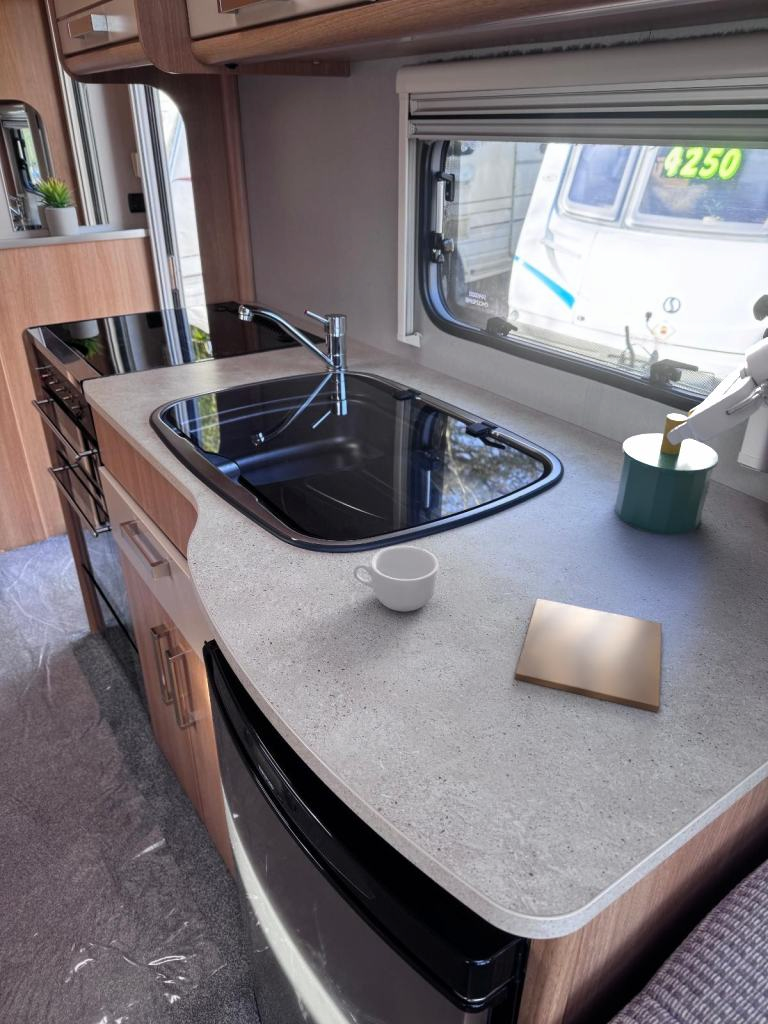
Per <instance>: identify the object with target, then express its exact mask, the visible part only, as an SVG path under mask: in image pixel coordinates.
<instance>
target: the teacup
mask: <svg viewBox="0 0 768 1024" xmlns="http://www.w3.org/2000/svg"><path fill="white" fill-rule="evenodd" d="M439 565H440V564H439V560H438V558H437V557H436V556H435V554H433V553H432V552H431V551H428V550H426V549H424V548H421V547H419V546H411V545H392V546H389V547H385V548H382V549H380V550H378V551H377V552H375V553H374V554H373V555H372V557H371V559H370V564H369V563H365V562H361V563H357V564H356V565H355V567H354V569H353V577H354V578H355V579H356V581H357V582H359V583H361V584H362V585H365V586H367V587H369V588H371V589H372V590H373V592H374V595H375V597H376V598H377V599H378V601H379V602H380V603H381V604H382V605H383V606H384V607H386V608H388V609H390V610H393V611H396V612H403V613H406V612H413V611H417V610H420V609H421V608H422V607H424V606H425V605H427V604H428V603H429V602H430V601H431V599H432V597H433V595H434V592H435V588H436V584H437V577H438V572H439ZM359 569H364V570H365V571H366V572H367V573H368V575H369V577H370V580H368V579H365V578H363V577H361V576H360V575H359V573H358V570H359Z"/></svg>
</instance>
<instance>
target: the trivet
mask: <svg viewBox="0 0 768 1024" xmlns="http://www.w3.org/2000/svg"><path fill="white" fill-rule="evenodd" d="M534 603H535V604H534V607H533V610H532V614H531V617H530V621H529V624H528V628H527V630H526V634H525V637H524V641H523V644H522V648H521V652H520V656H519V659H518V663H517V666H516V669H515V673H514V680H517V681H521V682H526V683H530V684H534V685H539V686H543V687H547V688H551V689H556V690H560V691H565V692H569V693H573V694H576V695H581V696H585V697H589V698H590V697H591V698H594V699H598V700H603V701H608V702H611V703H616V704H619V705H624V706H629V707H633V708H637V709H641V710H647V711H650V712H654V713H659V710H660V706H661V704H660V702H661V669H662V668H661V667H662V665H661V662H662V624H663V623H662V622H658V621H652V620H648V619H644V618H638V617H633V616H628V615H624V614H618V613H613V612H608V611H603V610H599V609H593V608H587V607H582V606H577V605H573V604H567V603H563V602H558V601H553V600H547V599H542V598H538V597H537V598H536V600H535V602H534Z"/></svg>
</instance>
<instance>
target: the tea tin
mask: <svg viewBox="0 0 768 1024" xmlns="http://www.w3.org/2000/svg"><path fill="white" fill-rule="evenodd" d="M623 455H624V454H623ZM713 470H714V469H712V470H710V471H708V472H704V473H699V474H672V473H665V472H660V471H655V470H652V469H648V468H645V467H643V466H640V465H638V464H636V463H634V462H632V461H631V460H629V459H628V458H627V457H626V456H625V455H624V456H623V461H622V467H621V473H620V478H619V484H618V488H617V494H616V498H615V499H616V501H615V505H614V511H615V514H616V516H617V517H618V518H619V519H620V520H621V521H622V522H624V523H625V524H626V525H628V526H629V527H632V528H635V529H637V530H640V531H643V532H647V533H650V534H657V535H666V536H667V535H668V536H670V535H671V536H672V535H673V536H675V535H683V534H687V533H690V532H692V531H694V530H696V529H697V528H698V526H699V524H700V522H701V519H702V515H703V510H704V507H705V502H706V500H707V499H706V498H707V496H708V495H707V494H708V491H709V486H710V483H711V478H712V475H713Z"/></svg>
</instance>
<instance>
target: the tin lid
mask: <svg viewBox="0 0 768 1024" xmlns="http://www.w3.org/2000/svg"><path fill="white" fill-rule="evenodd" d="M687 418H688V417H687V416H686V415H683V414H679V413H669V414H667V415H666V419H665V424H664V429H663V433H644V434H638V435H633V436H631V437H628V438H627V439H625V441H624V442H623V443H622V446H621V450H622V454H623V455H625V456H626V457H627V458H628V459H629V460H631V461H632V462H634V463H636V464H638V465H640V466H643V467H645V468H648V469H652V470H655V471H660V472H665V473H672V474H699V473H704V472H708V471H710V470H712V469H713V470H714V469H715V468H716V467H718V463H719V460H720V459H719V455H718V453H717V452H716V451H715V450H714V449H713V448H712V447H710V446H709V445H707V444H705V443H704V442H700V441H699V440H694V439H692V438H689V439H686V440H684V441H682V442H680V443H678V444H676V445H672V444H671V443H670V441H669V440H668V438H667V434H668V433H669V432H670V431H671V430H672V429H674V428H676V427H678V426H679V425H682V424H684V423H685V422H686V420H687Z"/></svg>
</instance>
